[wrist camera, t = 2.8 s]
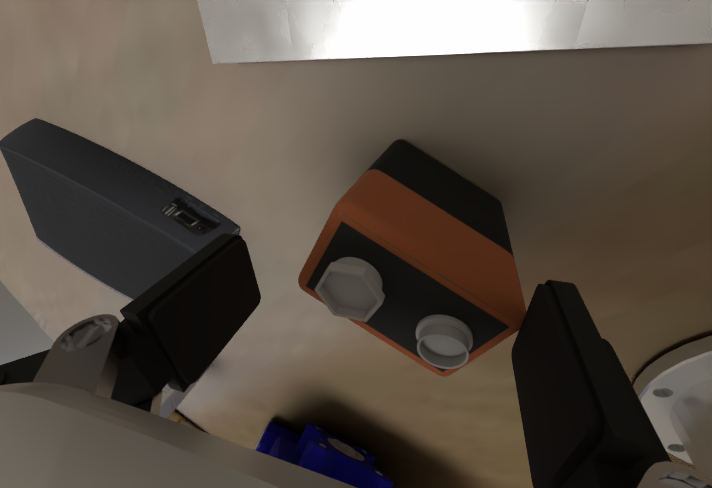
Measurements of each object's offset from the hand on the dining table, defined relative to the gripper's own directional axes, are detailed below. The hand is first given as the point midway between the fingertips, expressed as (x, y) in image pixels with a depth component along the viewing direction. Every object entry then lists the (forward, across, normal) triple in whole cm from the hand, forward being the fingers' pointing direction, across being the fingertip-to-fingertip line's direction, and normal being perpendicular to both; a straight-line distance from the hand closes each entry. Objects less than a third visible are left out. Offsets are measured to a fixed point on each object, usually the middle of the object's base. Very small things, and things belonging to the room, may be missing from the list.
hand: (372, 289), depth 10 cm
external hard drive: (+10, +24, +6) cm, 27 cm away
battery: (+9, -1, +1) cm, 9 cm away
